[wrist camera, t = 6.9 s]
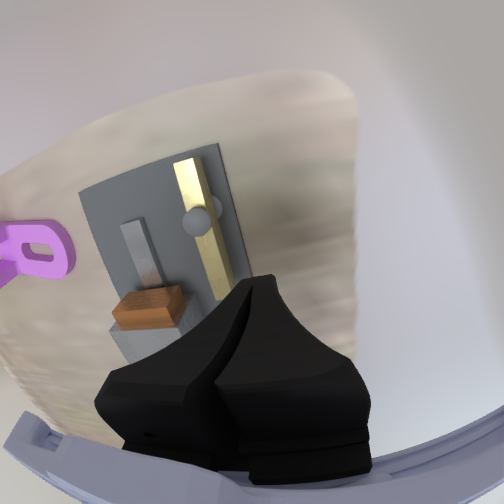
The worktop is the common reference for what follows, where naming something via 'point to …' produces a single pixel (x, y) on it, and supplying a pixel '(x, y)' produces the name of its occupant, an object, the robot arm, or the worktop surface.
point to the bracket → (24, 260)
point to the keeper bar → (212, 242)
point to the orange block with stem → (149, 306)
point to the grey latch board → (164, 224)
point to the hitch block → (152, 276)
